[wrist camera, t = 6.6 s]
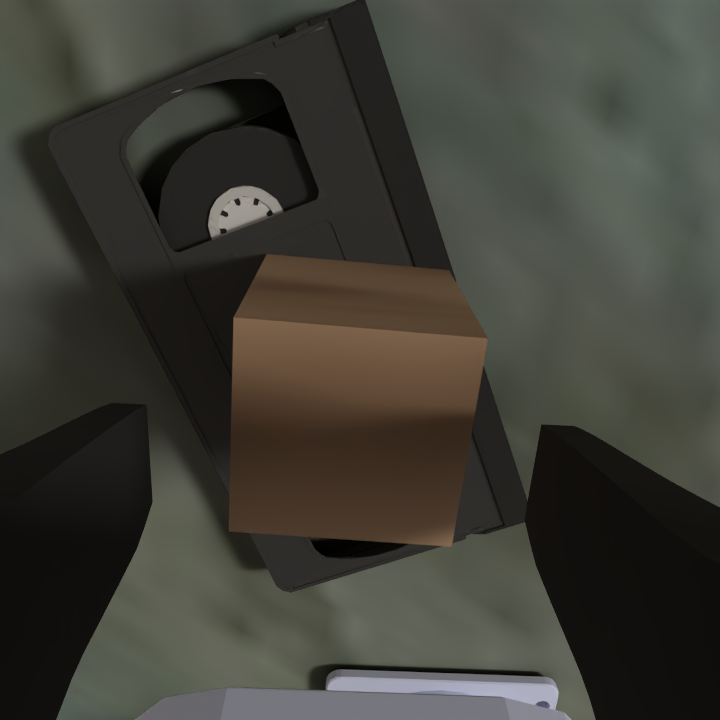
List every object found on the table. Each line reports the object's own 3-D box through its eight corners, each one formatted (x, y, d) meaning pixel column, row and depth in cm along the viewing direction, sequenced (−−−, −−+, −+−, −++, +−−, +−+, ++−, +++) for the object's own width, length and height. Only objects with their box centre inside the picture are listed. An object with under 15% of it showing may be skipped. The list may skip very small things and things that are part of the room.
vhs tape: (73, 128, 17) (38, 132, 15) (362, 9, 16) (364, -4, 14) (287, 554, 22) (281, 597, 20) (517, 482, 21) (533, 519, 19)
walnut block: (425, 431, 18) (451, 546, 13) (260, 418, 18) (228, 531, 13) (449, 270, 16) (487, 338, 12) (266, 253, 16) (233, 317, 12)
